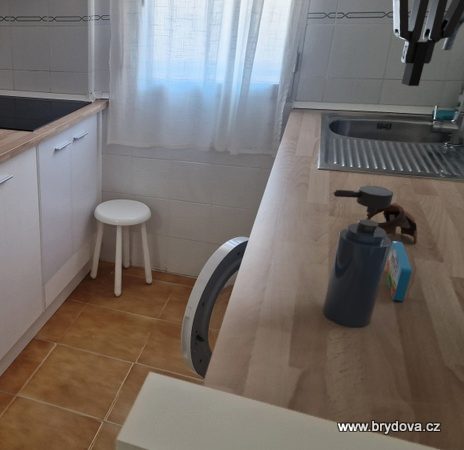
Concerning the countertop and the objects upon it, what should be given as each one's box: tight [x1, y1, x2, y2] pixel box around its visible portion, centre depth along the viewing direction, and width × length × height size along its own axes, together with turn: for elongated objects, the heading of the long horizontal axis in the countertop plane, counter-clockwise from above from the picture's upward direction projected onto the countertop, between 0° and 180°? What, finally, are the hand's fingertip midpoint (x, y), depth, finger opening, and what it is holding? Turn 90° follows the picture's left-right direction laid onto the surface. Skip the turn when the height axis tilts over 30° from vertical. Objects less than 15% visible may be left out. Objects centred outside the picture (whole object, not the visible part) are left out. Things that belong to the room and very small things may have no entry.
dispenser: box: [322, 218, 392, 329], centre depth 84 cm, size 7×7×16 cm
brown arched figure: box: [366, 202, 418, 245], centre depth 115 cm, size 12×10×8 cm
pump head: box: [333, 185, 394, 213], centre depth 80 cm, size 8×4×3 cm, turn 81°
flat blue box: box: [384, 240, 413, 303], centre depth 95 cm, size 12×2×6 cm, turn 157°
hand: (409, 84), depth 87 cm, fingers closed
